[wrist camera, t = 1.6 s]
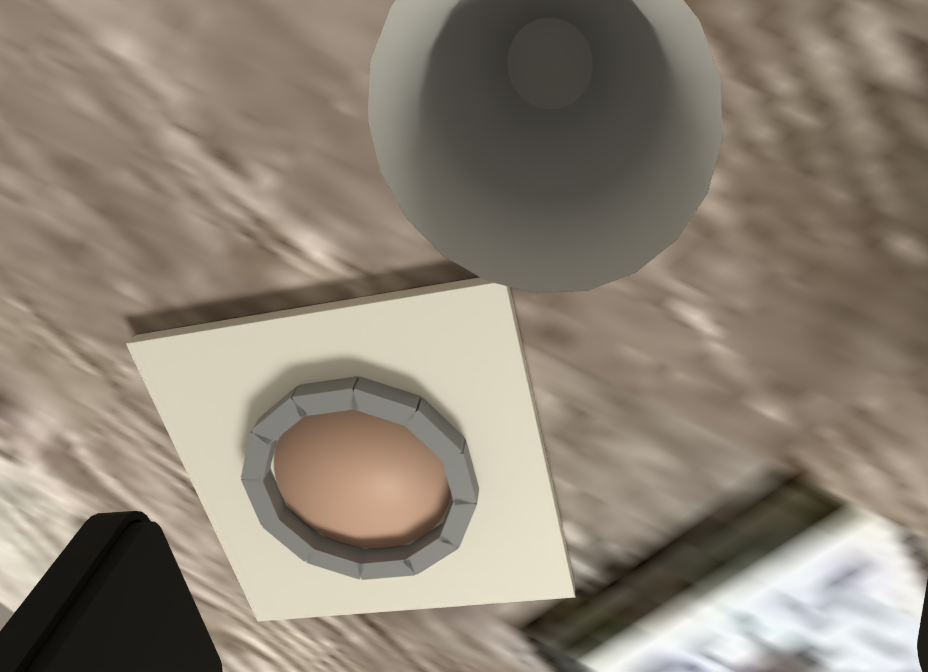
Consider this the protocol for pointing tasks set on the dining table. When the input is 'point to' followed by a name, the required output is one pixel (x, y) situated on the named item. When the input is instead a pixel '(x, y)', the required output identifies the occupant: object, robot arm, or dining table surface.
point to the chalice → (546, 132)
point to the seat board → (367, 451)
